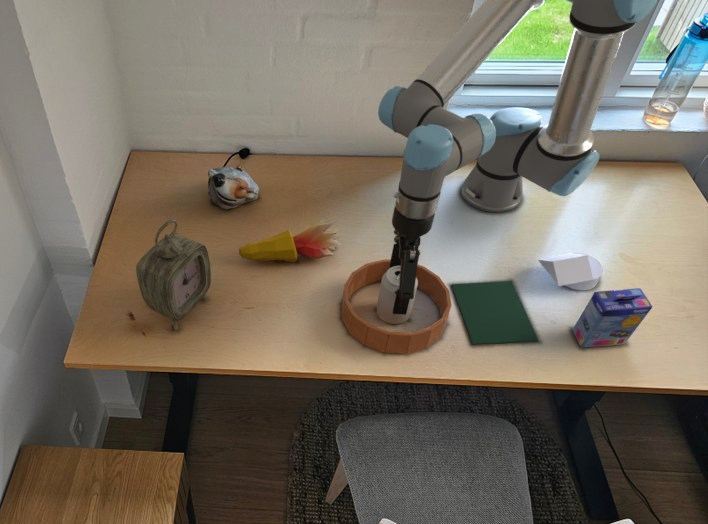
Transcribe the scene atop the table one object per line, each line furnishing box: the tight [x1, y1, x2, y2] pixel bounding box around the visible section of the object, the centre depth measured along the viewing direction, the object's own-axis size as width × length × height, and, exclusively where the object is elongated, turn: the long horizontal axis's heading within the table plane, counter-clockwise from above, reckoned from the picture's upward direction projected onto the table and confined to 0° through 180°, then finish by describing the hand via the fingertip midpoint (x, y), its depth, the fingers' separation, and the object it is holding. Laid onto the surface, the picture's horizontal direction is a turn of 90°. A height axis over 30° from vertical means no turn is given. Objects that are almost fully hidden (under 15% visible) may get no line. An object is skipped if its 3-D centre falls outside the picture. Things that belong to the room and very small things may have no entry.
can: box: [376, 266, 418, 325], centre depth 129 cm, size 8×8×12 cm
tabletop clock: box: [135, 219, 212, 332], centre depth 127 cm, size 14×9×25 cm, turn 148°
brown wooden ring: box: [341, 258, 452, 355], centre depth 132 cm, size 23×23×6 cm
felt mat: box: [450, 280, 539, 346], centre depth 133 cm, size 18×14×1 cm
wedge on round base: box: [537, 252, 604, 291], centre depth 137 cm, size 9×7×13 cm
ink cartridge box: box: [572, 287, 653, 348], centre depth 122 cm, size 10×6×14 cm, turn 95°
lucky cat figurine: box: [207, 164, 260, 211], centre depth 157 cm, size 15×12×14 cm
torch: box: [238, 219, 342, 263], centre depth 144 cm, size 8×8×25 cm
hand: (397, 289), depth 128 cm, fingers open, 13 cm apart
